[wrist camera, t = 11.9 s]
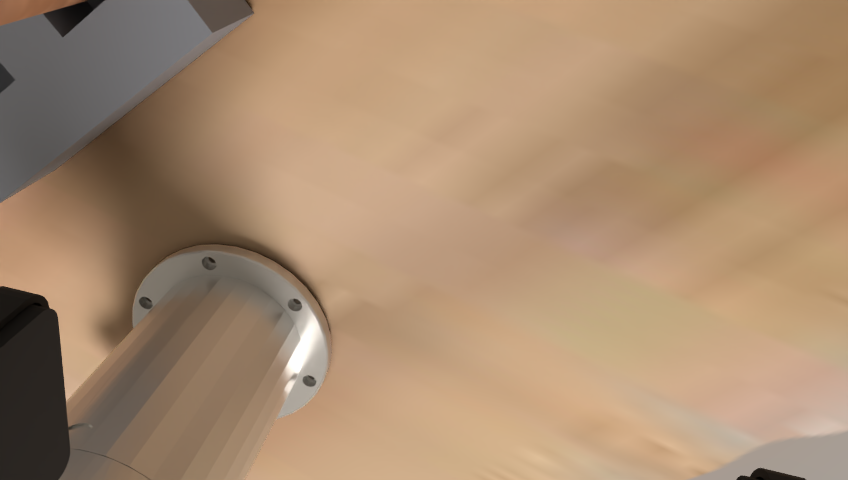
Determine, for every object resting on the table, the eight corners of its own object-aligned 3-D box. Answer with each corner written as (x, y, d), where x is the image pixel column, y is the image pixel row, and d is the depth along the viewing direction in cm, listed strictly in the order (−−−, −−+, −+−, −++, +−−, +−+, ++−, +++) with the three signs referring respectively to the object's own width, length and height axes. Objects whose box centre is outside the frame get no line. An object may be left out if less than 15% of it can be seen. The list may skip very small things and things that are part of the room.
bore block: (55, 169, 42) (-3, 204, 38) (-106, -11, 39) (-190, 4, 35) (254, 12, 36) (212, 33, 32) (85, -217, 33) (12, -231, 29)
